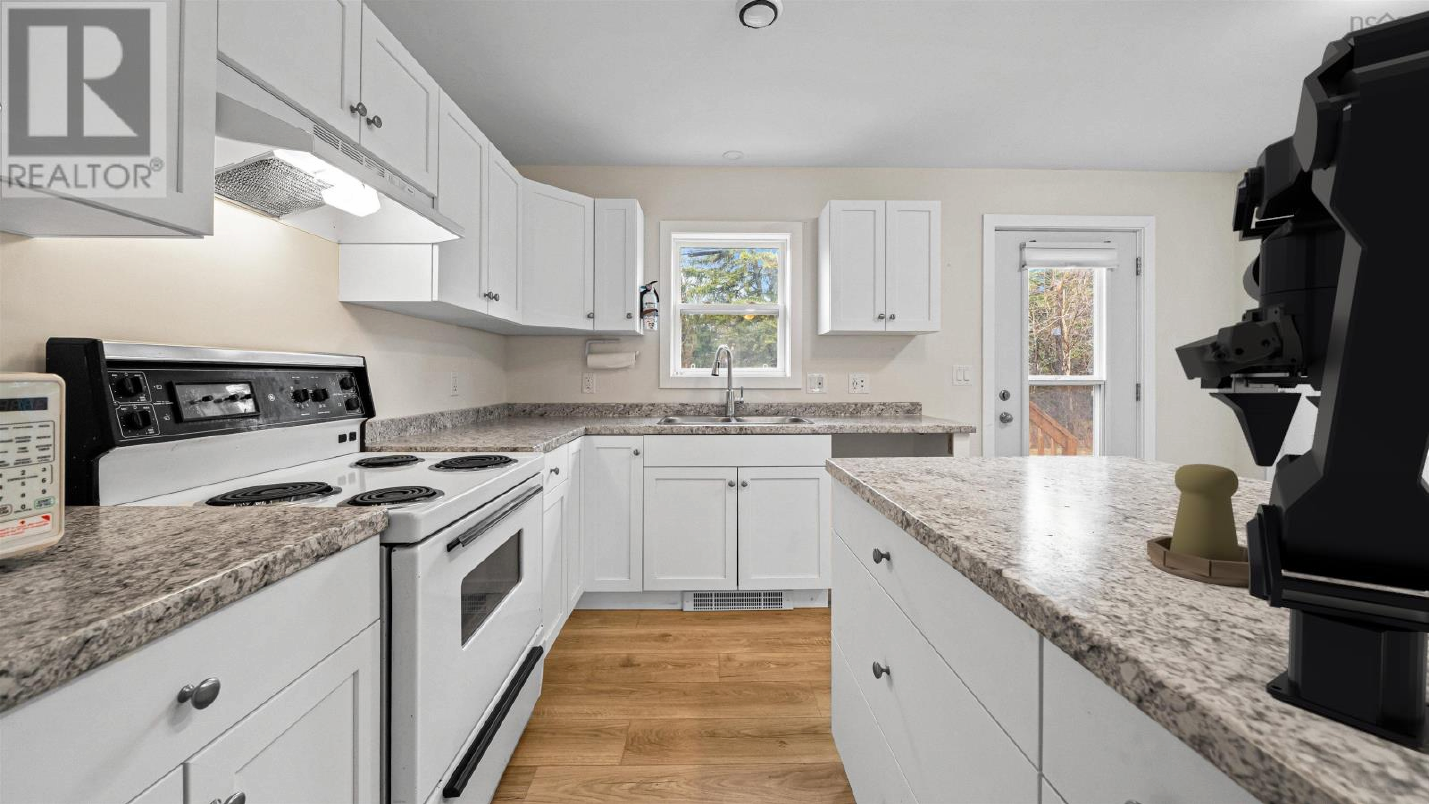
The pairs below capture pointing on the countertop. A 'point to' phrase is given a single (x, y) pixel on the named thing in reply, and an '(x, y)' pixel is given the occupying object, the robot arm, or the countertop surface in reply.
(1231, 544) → the cork
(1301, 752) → the countertop surface
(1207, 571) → the walnut coaster
